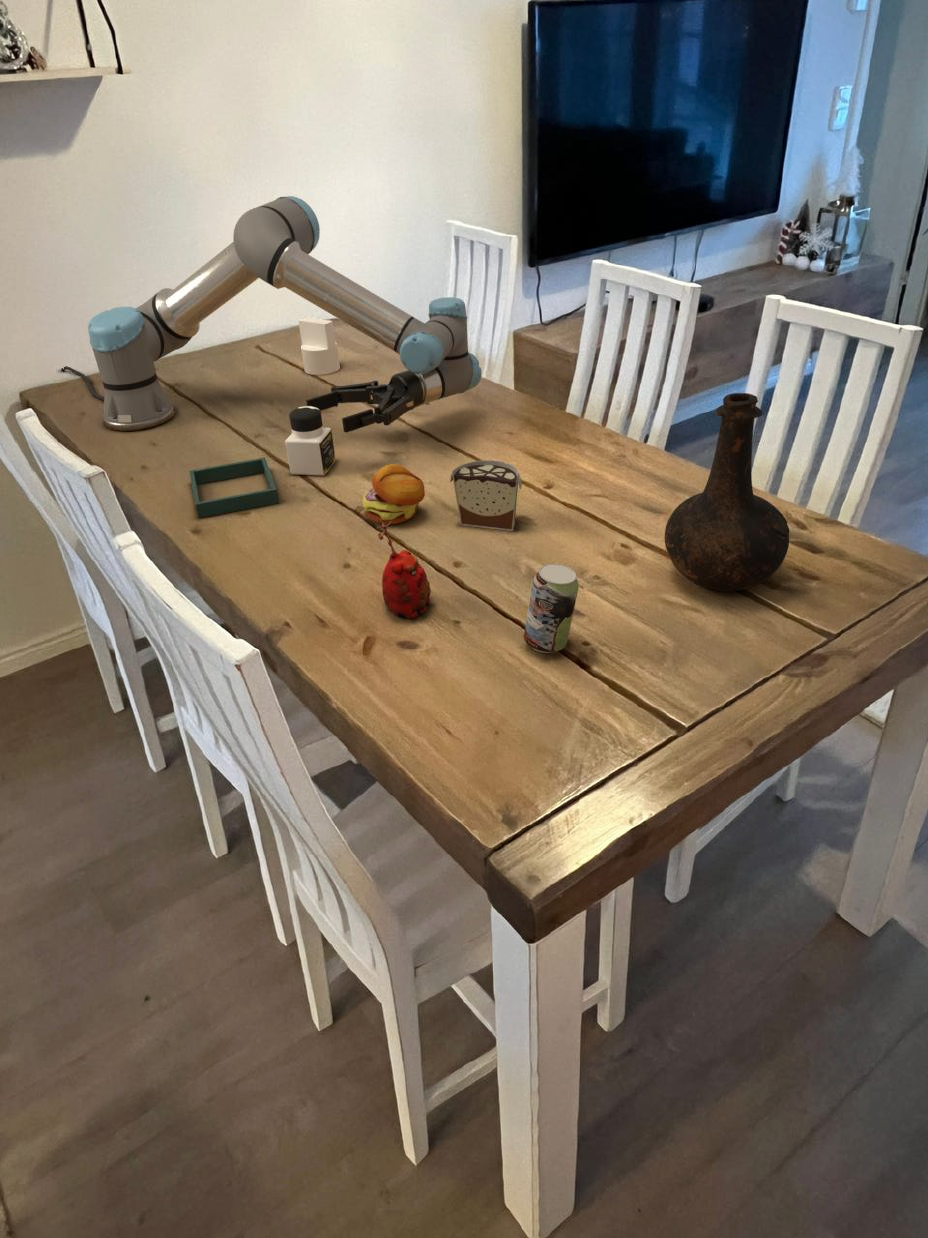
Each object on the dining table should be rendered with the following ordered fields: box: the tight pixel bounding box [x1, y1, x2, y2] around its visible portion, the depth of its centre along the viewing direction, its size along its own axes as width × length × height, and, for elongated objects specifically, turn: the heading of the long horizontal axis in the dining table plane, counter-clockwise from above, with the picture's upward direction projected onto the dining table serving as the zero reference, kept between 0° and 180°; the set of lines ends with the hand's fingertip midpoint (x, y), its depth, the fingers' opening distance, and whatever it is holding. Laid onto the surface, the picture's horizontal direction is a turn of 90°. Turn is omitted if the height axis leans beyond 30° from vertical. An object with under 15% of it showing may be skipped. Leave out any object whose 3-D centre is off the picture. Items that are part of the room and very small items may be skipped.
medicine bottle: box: [284, 405, 336, 477], centre depth 175 cm, size 7×7×12 cm
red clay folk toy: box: [376, 519, 432, 620], centre depth 131 cm, size 8×7×15 cm
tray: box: [189, 457, 280, 519], centre depth 170 cm, size 16×15×3 cm
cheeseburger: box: [362, 463, 426, 525], centre depth 158 cm, size 10×11×10 cm
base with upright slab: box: [298, 317, 341, 376], centre depth 225 cm, size 9×9×12 cm
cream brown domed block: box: [449, 459, 523, 532], centre depth 154 cm, size 12×6×10 cm, turn 71°
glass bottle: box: [664, 392, 790, 592], centre depth 130 cm, size 18×18×28 cm
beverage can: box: [523, 563, 580, 654], centre depth 122 cm, size 6×7×12 cm
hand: (325, 416), depth 175 cm, fingers open, 13 cm apart
